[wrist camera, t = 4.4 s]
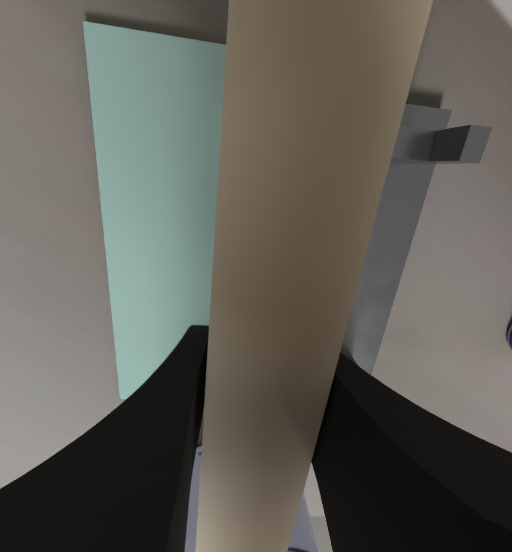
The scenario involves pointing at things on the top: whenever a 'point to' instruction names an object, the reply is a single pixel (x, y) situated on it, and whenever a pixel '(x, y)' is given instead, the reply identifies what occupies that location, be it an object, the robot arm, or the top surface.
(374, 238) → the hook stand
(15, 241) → the top surface
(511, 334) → the energy drink
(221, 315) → the ash bar
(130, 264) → the sage mat
